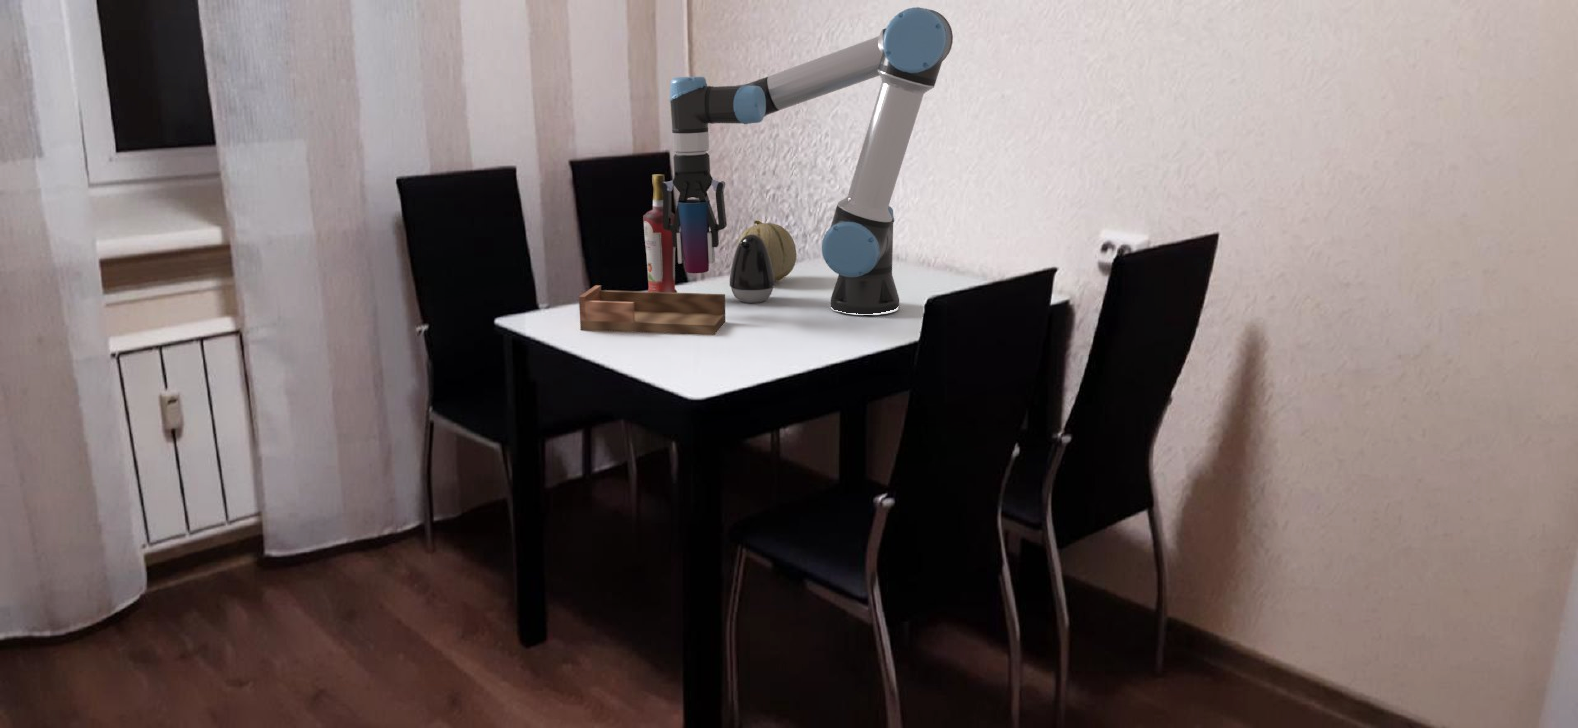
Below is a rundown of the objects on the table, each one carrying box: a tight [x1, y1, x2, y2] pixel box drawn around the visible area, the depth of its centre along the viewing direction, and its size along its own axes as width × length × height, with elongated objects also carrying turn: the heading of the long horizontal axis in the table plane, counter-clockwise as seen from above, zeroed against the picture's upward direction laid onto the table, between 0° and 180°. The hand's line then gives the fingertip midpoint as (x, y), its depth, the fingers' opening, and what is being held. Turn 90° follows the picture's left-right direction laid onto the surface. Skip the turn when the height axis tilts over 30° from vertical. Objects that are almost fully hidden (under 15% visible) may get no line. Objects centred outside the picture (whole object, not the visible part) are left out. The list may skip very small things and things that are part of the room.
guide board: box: [578, 284, 726, 336], centre depth 239 cm, size 28×11×7 cm, turn 82°
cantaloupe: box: [736, 220, 798, 283], centre depth 279 cm, size 15×15×15 cm
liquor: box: [642, 173, 678, 293], centre depth 261 cm, size 7×7×28 cm
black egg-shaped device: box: [729, 234, 775, 304], centre depth 260 cm, size 10×10×15 cm
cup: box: [677, 198, 711, 274], centre depth 246 cm, size 7×7×15 cm
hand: (696, 262), depth 247 cm, fingers closed on cup, 6 cm apart
